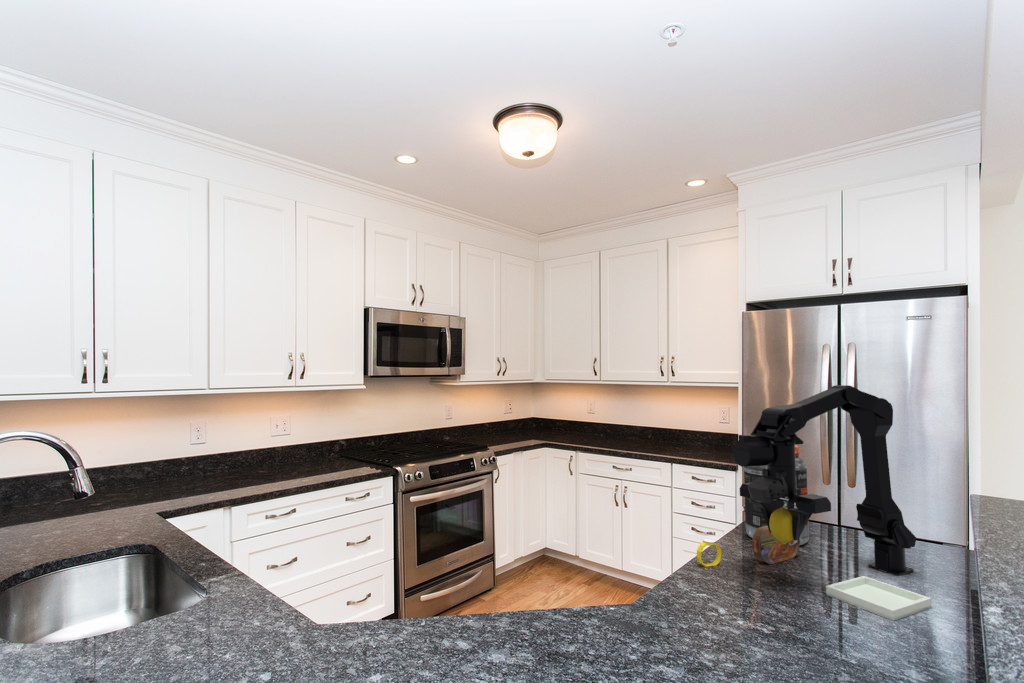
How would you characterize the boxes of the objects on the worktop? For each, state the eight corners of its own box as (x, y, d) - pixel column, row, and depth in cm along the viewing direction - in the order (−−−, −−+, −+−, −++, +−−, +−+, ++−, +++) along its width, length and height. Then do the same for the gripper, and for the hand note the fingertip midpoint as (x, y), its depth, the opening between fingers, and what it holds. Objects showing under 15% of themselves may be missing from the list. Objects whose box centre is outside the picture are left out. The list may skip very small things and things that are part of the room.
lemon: (802, 548, 111) (800, 510, 111) (774, 547, 112) (772, 509, 113) (793, 540, 116) (792, 504, 117) (767, 539, 117) (765, 503, 118)
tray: (864, 584, 111) (863, 575, 112) (931, 607, 100) (931, 598, 100) (826, 594, 106) (825, 585, 106) (893, 620, 95) (893, 610, 95)
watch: (715, 563, 125) (716, 538, 125) (723, 567, 122) (724, 541, 123) (694, 564, 123) (695, 538, 124) (701, 568, 121) (702, 542, 121)
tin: (761, 566, 122) (760, 530, 123) (750, 562, 125) (749, 527, 125) (801, 556, 129) (800, 522, 130) (789, 553, 132) (788, 519, 132)
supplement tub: (809, 552, 132) (805, 449, 134) (742, 542, 140) (739, 445, 142) (809, 535, 146) (806, 443, 148) (749, 527, 154) (746, 439, 156)
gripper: (721, 461, 120) (723, 529, 119) (795, 474, 103) (798, 554, 102) (755, 458, 125) (757, 524, 124) (831, 470, 108) (834, 546, 107)
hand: (783, 536), depth 114 cm, fingers closed on lemon, 5 cm apart
